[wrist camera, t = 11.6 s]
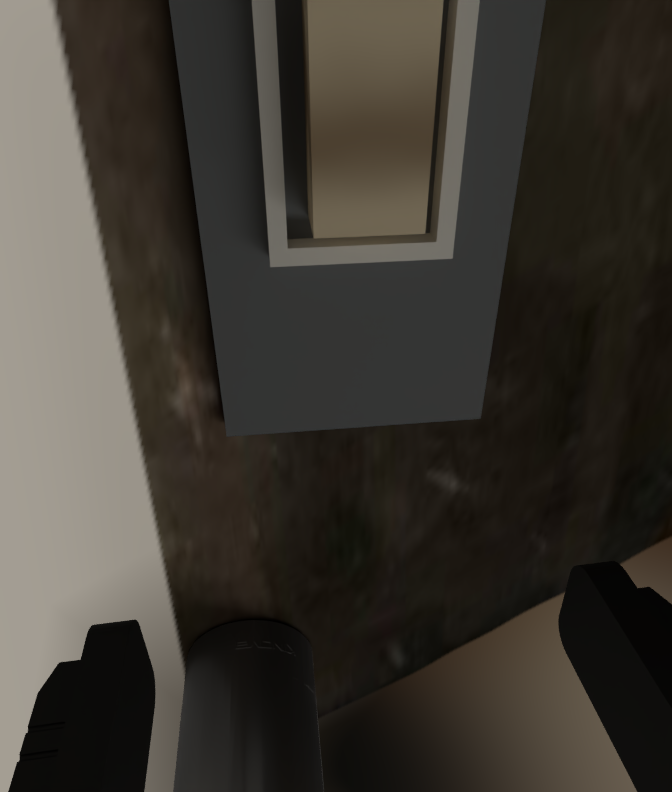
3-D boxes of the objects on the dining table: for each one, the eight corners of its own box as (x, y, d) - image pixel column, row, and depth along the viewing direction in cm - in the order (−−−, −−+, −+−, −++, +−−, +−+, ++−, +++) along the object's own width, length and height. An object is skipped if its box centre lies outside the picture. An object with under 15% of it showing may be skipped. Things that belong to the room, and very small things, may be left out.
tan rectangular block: (301, -5, 22) (307, -4, 20) (423, -5, 22) (443, -5, 20) (308, 215, 26) (313, 238, 24) (409, 211, 27) (425, 233, 24)
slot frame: (445, 249, 28) (452, 258, 27) (269, 257, 27) (270, 267, 26) (476, -66, 22) (487, -69, 21) (247, -66, 21) (246, -69, 20)
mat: (476, 410, 34) (480, 418, 34) (227, 427, 33) (226, 436, 33) (549, -81, 22) (558, -83, 22) (160, -83, 21) (157, -85, 20)
